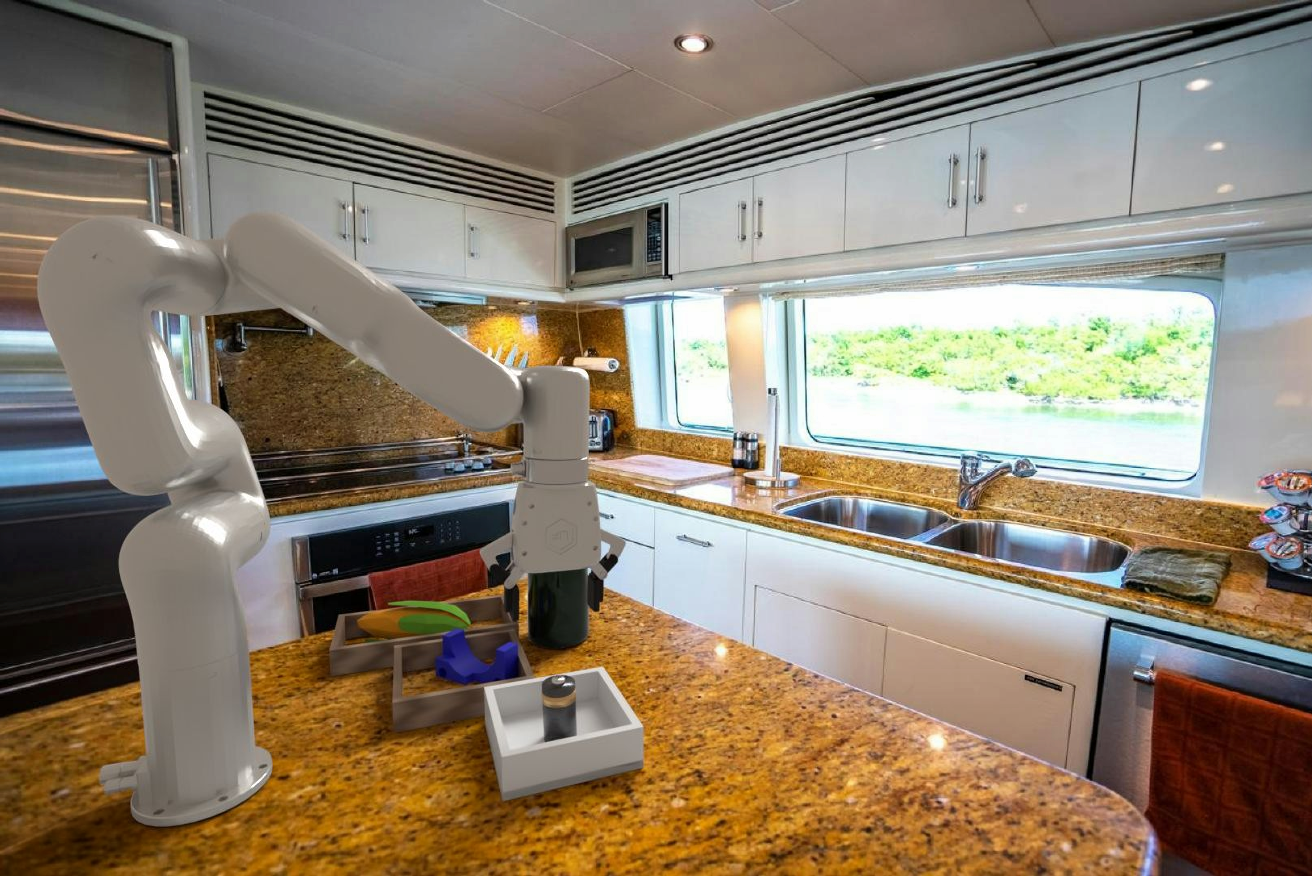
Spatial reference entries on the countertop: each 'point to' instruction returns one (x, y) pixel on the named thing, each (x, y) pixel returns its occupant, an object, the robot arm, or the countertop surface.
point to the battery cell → (559, 707)
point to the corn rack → (383, 651)
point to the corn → (414, 620)
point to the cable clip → (474, 661)
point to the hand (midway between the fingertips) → (554, 612)
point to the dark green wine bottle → (557, 608)
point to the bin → (540, 766)
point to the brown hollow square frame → (452, 701)
